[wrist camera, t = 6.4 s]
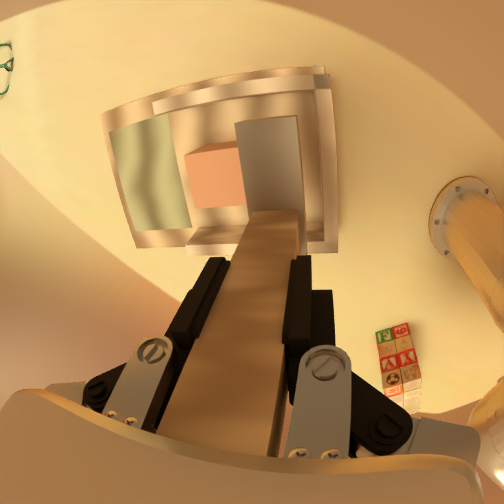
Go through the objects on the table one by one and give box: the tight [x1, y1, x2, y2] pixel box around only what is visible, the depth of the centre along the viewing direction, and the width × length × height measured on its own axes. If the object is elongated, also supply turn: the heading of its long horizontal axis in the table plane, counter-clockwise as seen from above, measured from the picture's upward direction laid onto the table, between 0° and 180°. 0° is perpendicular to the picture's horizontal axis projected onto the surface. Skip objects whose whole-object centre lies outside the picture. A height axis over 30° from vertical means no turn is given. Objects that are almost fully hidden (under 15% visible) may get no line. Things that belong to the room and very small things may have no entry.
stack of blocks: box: [376, 323, 422, 414], centre depth 41 cm, size 21×6×12 cm, turn 27°
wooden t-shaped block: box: [156, 115, 308, 457], centre depth 11 cm, size 3×12×16 cm, turn 8°
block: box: [184, 141, 247, 209], centre depth 29 cm, size 6×6×6 cm
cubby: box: [100, 66, 338, 256], centre depth 31 cm, size 30×22×6 cm
